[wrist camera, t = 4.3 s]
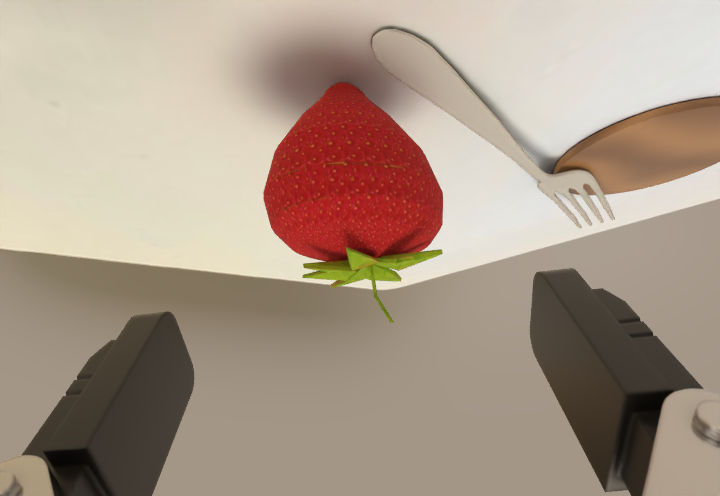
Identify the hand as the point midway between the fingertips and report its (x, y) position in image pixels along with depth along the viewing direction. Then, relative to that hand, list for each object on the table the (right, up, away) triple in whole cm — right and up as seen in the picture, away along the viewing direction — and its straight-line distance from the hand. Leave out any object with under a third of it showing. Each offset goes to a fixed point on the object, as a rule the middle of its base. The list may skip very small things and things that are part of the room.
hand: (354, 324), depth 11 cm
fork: (+9, +7, +15) cm, 19 cm away
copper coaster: (+18, +8, +18) cm, 26 cm away
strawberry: (0, +9, +9) cm, 13 cm away
